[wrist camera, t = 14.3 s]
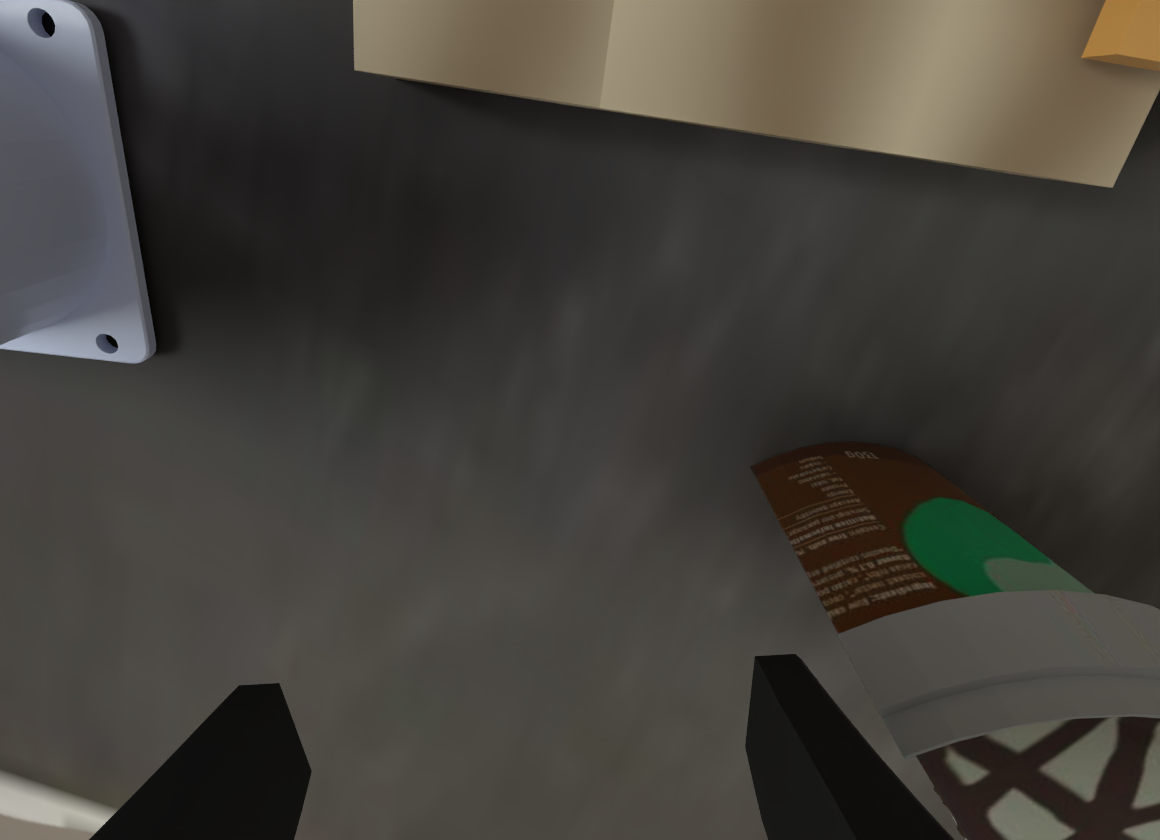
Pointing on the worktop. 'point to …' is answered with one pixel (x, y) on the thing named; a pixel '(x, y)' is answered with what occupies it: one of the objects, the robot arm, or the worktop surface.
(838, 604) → the food container
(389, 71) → the socket block
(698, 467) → the worktop surface
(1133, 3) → the shutter
